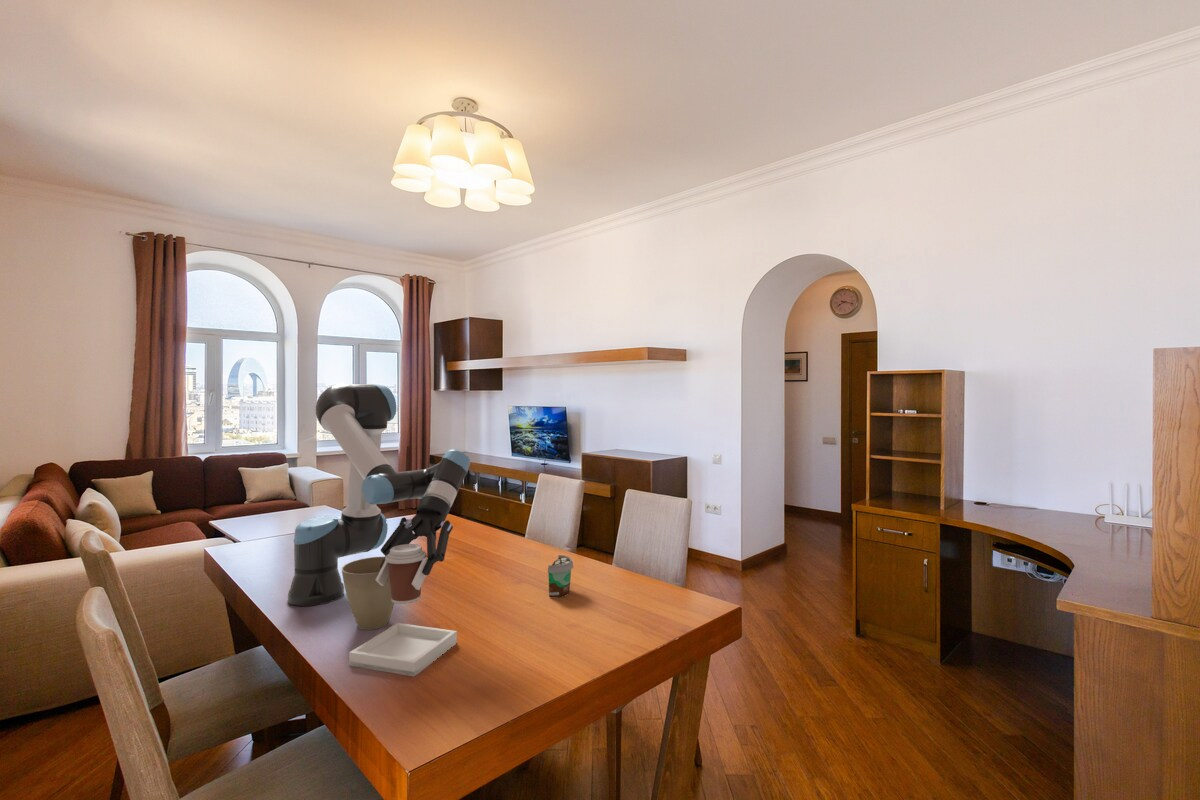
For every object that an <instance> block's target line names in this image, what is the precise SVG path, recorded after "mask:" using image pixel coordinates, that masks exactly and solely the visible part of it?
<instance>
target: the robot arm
mask: <svg viewBox="0 0 1200 800" xmlns="http://www.w3.org/2000/svg"><path fill="white" fill-rule="evenodd" d="M395 398H396V397H395V394H393V392H392V390H391V389H390V388H388V386H387V385H386V386H385V385H383V384H382V385H381V384H373V383H371V384H369V383H368V384H366V383H363V384H362V383H357V384H356V383H354V384H353V383H351V384H348V383H338V384H333V385H331V386H329V387H327V388H326V389H325V390H324V391H322V393H321V394H320V395H319V396H318V399H317V400H316V405H315V416H316V419H317V421H318V424H320V426H321V427H322V429H324V430H325V432H329V433H331V435H332V436H333V438H334V439H335V440H336V442H337V444H338V445H339V447H340V448H341V449H342V450H343V452H344V454H345V455H346V457H348V459H349V460H350V461H349V475H348V487H347V488H348V490H347V491H348V492H347V504H346V507H344V508H343V509H342V510H341V515H340V516H341V518H338V517H337V516H335V515H323V516H317V517H313V518H308V519H306V520H304V521H302V522H300V523H299V524H297V525H296V526H295V528H294V536H293V537H294V538H293V544H294V545H293V547H294V548H293V549H294V552H293V553H294V574H293V575H294V576H293V578H292V580H291V581H292V582H291V585H290V588H289V590H288V592H287V603H288V604H289V605H293V606H297V607H305V606H307V607H310V606H318V605H323V604H327V603H330V602H333V601H336V600H338V599H340V598H342V597H343V595H344V594H345V586H344V582H343V581H342V578H341V575H340V572H339V567H338V563H339V562H338V561H339V560H338V559H339V558H343V557H347V556H352V555H356V554H361V553H367V552H370V551H373V550H377V549H378V548H380V547H381V546H382V547H381V548H380V552H381V553H382V554H383V556H384V557H386V556H387V555H388V554H389V553H390V549H391V548H392V547H395V546H398V545H404V544H411V542H412V541H414V540H416V539H418V538H419V537H425V538H426V558H423V560H422V562H421V564H420V567H419V569H418V571H417V573H416V575H415V577H414V580H413V582H412V585H413V586H414V587H415V589H416V590H420V588H421V589H422V586H423V583H424V581H425V580H426V576H429V575H430V574H431V571H432V570H433V567H434V565H435V564H436V563H438V562H440V563H442V562H444V561H445V558H446V557H445V556H446V553H447V547H448V542H449V537H450V534H451V532H452V530H453V529H454V526H453V525H452V523H451V522H450V520H446V519H447V517H448V515H449V513H450V511H451V508H452V506H453V505H454V501H455V499H456V497H457V495H458V492H459V490H460V489H461V486H462V485H463V482H464V481H465V478H466V475H467V474H468V471H469V468H470V466H471V459H470V458H469V456H468V455H467V454H466V453H464V452H463V451H461V450H458V449H449V450H446V452H445V453H444V455H443V456H442V457H441V460H440V462H438V463H437V464H436V463H435V464H434V465H433V466H429V467H427V468H423V469H416V470H407V471H395V469H394V468H393V466H392V465H391V464H390V462H389V461H388V460H387V459H386V457H385V456H384V455H383V453H382V452H381V445H382V433H383V432H384V431H385V430H387V428H388V422H390V421H392V420H393V419H395V416H396V415H397V402H396V399H395ZM413 499H417V500H418V499H419V500H420V503H419V504H418V506H417V508H416V514H415V515H414V516H413V517H412V518H410V519H409V518H408V519H407V517H401V519H400V521H399V524H398V526H397V527H396V528H395V530H394V531H393V532H392V533H391V535H390V536H389V538H388V539H387V540H386V538H387V535H388V529H389V528H388V522H387V518H386V516H385V515H384V514H383V513H382V510H381V508H380V507H379V506H377V505H381V504H382V505H386V504H389V503H395V502H400V501H405V500H406V501H407V500H413ZM439 530H440V531H439ZM437 531H439V534H438V535H439V536H438V541H437ZM385 540H386V541H385ZM384 542H385V543H384ZM380 568H381V570H380V572H379V574H378V576H377V578H376V581H377V582H378V583H379V584H380V585H381V586H384V584H385V582H386V580H387V578H388V576H389V565H388V562H386V561H385V558H384V560H383V562H382V564H381V565H380Z"/></svg>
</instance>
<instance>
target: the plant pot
mask: <svg viewBox="0 0 1200 800" xmlns="http://www.w3.org/2000/svg"><path fill="white" fill-rule="evenodd" d="M384 558H385V556H374V557H366V558H360V559H357V560H353V561H350V562H348V563H346V564H344V565H343V566H342V567H341V573H342V582H343V585H344V591H345V593H346V597H347V601H348V604H349V607H350V610H351V613H352V615H353V617H354V620H355V623H356V625H357V626H358V628H359V629H361V630H366V631H367V630H369V631H370V630H371V629H372V630H376V629H380V628H383V627H385V626H386V625H387V624H388V623H389V621H390V618H391V615H392V612H393V609H394V605H395V603H393V602H392V597H391V587H390V576H388V578H387V580H386V582H385V584H384V586H381V585H380V584H379V583H378V582H377V581H376V578H377V576H378V574H379V572H380V570H381V568H380V565H381V564H382V562H383V560H384Z"/></svg>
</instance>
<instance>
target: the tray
mask: <svg viewBox="0 0 1200 800" xmlns="http://www.w3.org/2000/svg"><path fill="white" fill-rule="evenodd" d="M457 632H458V631H457V630H453V629H443V628H438V627H430V626H422V625H415V624H408V623H400V622H397V623H396V624H394V625H392V626H390V627H389V628H387V629H386V630H384V631H382V632H381V633H379V634H377V635H376V636H374V637H372V638H371V639H369V640H367V641H366V642H364V643H362V644H360V645H359V646H357V647H356V648H355V649H352V650H350V651H349V652H348V653H349V655H348V656H349V657H348V658H349V659H348V660H349V667H353V668H354V667H356V668H360V669H361V668H362V669H368V670H374V671H379V672H384V673H385V672H386V673H391V674H396V675H403V676H408V677H416V676H417V675H419V674H420V673H421V672H422V671H424V670H425V669H426V668H428V667H429V666H430V665H431V664H432V663H434V662H435V661H436V660H438V659H439V658H440V657H442V656H443V655H444V654H445V653H446V652H448V651H449V650H451V649H452V648H453V647H455V645H457V644H458V633H457ZM456 643H457V644H456ZM451 647H452V648H451ZM447 650H448V651H447ZM442 654H443V655H442ZM437 658H438V659H437ZM433 661H434V662H433Z"/></svg>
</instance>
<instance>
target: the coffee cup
mask: <svg viewBox="0 0 1200 800" xmlns="http://www.w3.org/2000/svg"><path fill="white" fill-rule="evenodd" d="M426 555H427V552H426V551H424V550H423V548H422V546H421V544H418V543H417V544H416V543H415V544H414V543H409V544H404V545H398V546H395V547H392V548H391V549H390V553H389V554H388V555H387V556H386V557H385V556H384V557H385V561H386V562H388V565H389V576H390V587H391V597H392V602H393V603H394V604H395V605H396V604H398V605H406V604H412V603H414V602H418V601H419V600H420V599H421V597H422V587H421V588H420V590H416V589H415V587H414V586H413V585H412V582H413V580H414V577H415V575H416V573H417V571H418V569H419V567H420V564H421V562H422V560H423V558H426V559H427V557H426Z"/></svg>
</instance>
